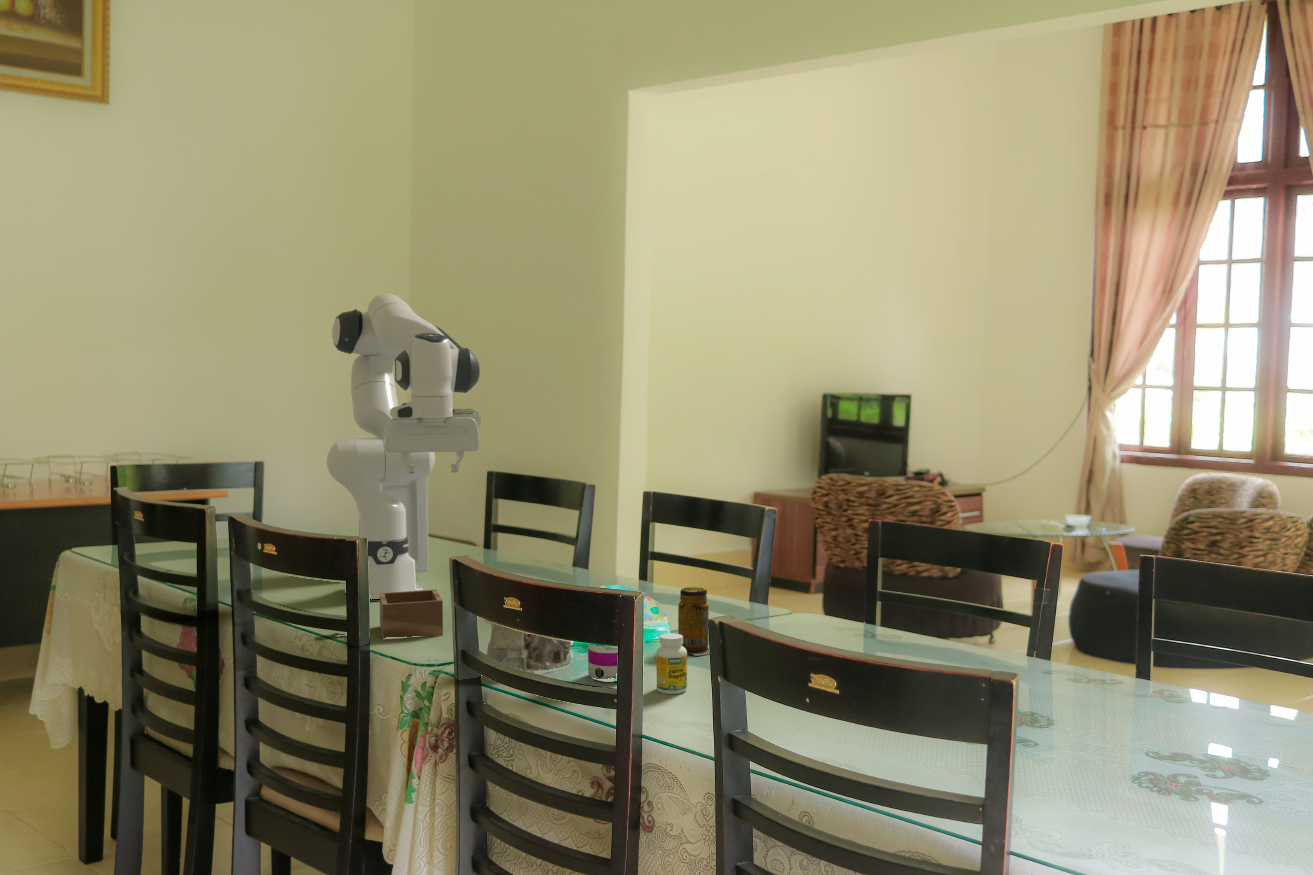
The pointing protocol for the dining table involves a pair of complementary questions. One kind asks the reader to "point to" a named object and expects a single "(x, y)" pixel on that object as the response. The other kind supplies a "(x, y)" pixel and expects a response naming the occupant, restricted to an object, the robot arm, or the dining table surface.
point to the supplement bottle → (671, 664)
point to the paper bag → (413, 517)
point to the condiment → (694, 620)
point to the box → (411, 613)
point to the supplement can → (602, 662)
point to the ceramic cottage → (527, 650)
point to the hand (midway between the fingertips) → (432, 472)
